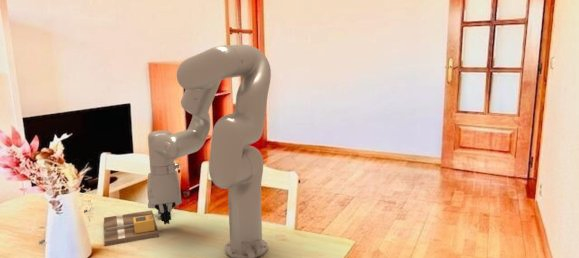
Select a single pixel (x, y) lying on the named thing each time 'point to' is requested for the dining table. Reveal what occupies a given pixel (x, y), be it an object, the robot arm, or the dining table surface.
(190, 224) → the dining table surface
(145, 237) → the board
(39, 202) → the dining table surface
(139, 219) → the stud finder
